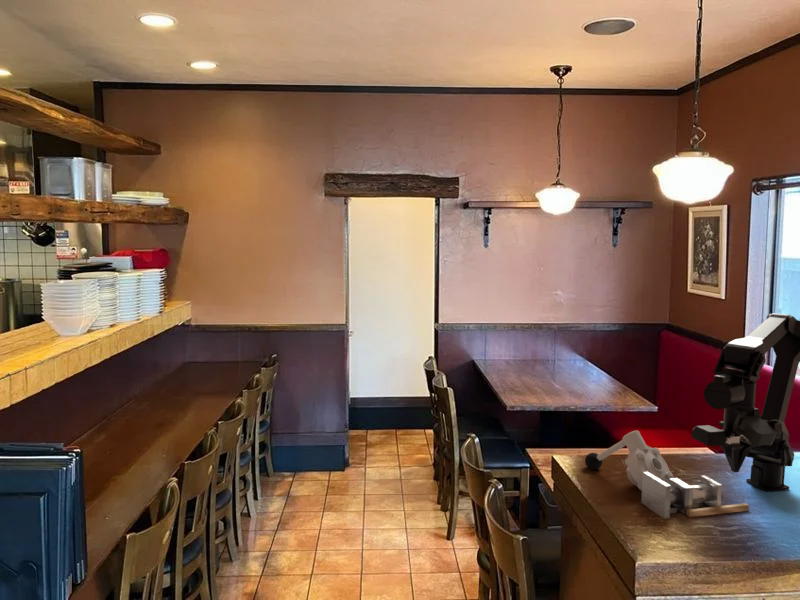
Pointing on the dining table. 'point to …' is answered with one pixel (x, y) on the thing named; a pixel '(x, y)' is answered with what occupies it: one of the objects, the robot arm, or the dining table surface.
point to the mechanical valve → (635, 459)
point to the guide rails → (717, 510)
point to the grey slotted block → (704, 492)
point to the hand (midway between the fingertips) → (735, 471)
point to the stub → (664, 495)
